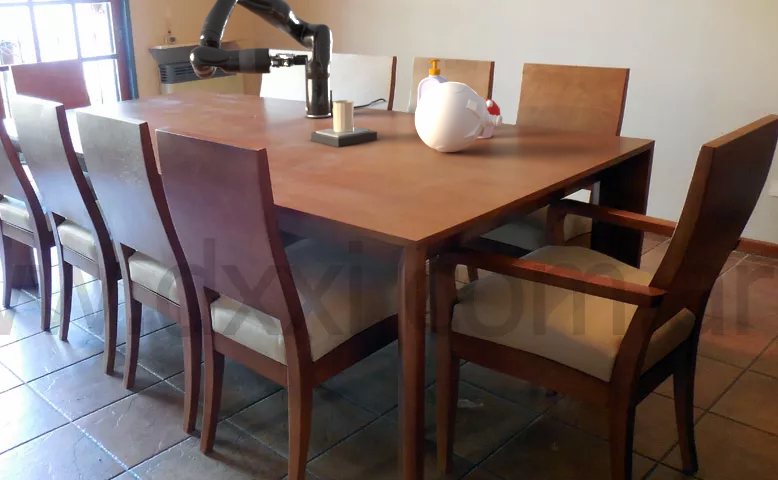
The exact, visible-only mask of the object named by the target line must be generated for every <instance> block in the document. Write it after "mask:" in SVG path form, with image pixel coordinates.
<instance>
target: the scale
mask: <svg viewBox="0 0 778 480" xmlns="http://www.w3.org/2000/svg"><path fill="white" fill-rule="evenodd" d="M310 135H311V137H310V139H311V141H312V142H317V143H321V144H324V145H328V146H333V147H337V148H340V147H345V146H351V145H357V144H361V143H366V142H372V141H376V140H378V131H375V130H370V128H365V127H360V126H354V130H353V131H351V132H335V131H334V127H331V128H325V129H320V130H315V131H314V132H311V133H310Z"/></svg>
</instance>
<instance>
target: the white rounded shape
mask: <svg viewBox="0 0 778 480" xmlns="http://www.w3.org/2000/svg"><path fill="white" fill-rule="evenodd" d="M484 98H485V97H482V96H481V95H479V94H478V93H477V92H476V91H475V90H474V89H473V88H472V87H470V86H468V85H467V84H465V83H462V82H457V81H449V82H445V83H441V84H438V85H437V86H435V87H432V88H431V89H429V90H428V91H427V92H426V93H425V94H424V95H423V97H422V98H421V100H420V101H419V103H418V106H417V105H416V108H415V114H414V125H415V129H416V132H417V134H418V136H419V138H420V139H421V140H422V142H423V143H424V144H425V145H426V146H428V147H430V148H431V149H434V150H435V151H438V152H441V153H442V152H443V153H455V152H459V151H462V150H464V149H465V148H467V147H470V145H472V144H473V143H474V142H475V141H476V140H477V139H478V138H477V137H480V136H483V135H484V132H485V129H486V128H487V127H488V126H489V125H490V126H494V128H497V127H498V128H500V127H501V126H502V125H503V116H502V115H501V114H500V115H498V116H497V115H494V116H493V115H490V114H489V112H488V111H487V102H486V100H485V99H484Z"/></svg>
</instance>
